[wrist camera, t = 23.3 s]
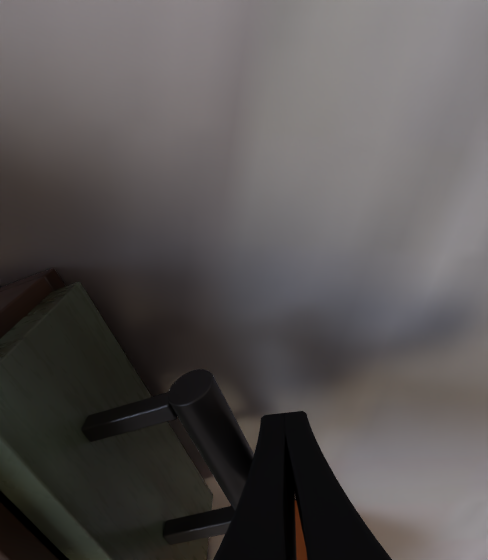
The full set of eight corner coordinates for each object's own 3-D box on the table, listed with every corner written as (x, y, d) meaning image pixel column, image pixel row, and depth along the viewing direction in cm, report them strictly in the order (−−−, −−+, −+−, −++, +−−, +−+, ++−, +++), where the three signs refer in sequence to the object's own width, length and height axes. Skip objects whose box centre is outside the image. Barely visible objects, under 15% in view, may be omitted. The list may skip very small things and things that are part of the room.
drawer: (189, 241, 12) (143, 341, 7) (297, 475, 17) (317, 636, 12) (-180, 373, 15) (-409, 516, 10) (3, 542, 20) (-85, 696, 15)
